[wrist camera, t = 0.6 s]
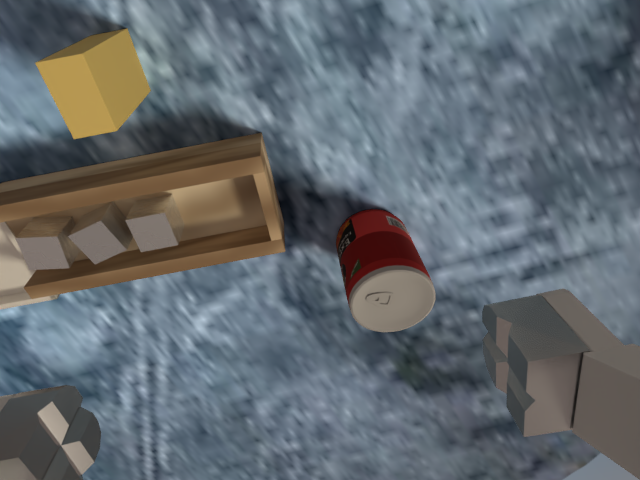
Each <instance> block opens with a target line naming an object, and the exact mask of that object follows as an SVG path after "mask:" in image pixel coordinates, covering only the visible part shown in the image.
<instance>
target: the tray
mask: <svg viewBox="0 0 640 480" xmlns="http://www.w3.org/2000/svg"><path fill="white" fill-rule="evenodd" d="M15 238H16V236H15V235H14V233H13V232H12V230H11V229H10V227H9V226H8V224H7V223H6V222H1V223H0V309H5V308H11V307H16V306H21V305H27V304H32V303H37V302H43V301H48V300H53V299H57V298H58V296H59V295H60V294H57V295H52V296H46V297H41V298H36V299H31V297H30V296H29V295H28V293H27V292H26V290H25V289H24V286H25V285H26V283H27V282H28V281H29V279H30V278H31V277H32V275H33V274H34V272H35V271H36V270H29V268H28V266H27V263H26V261H25V259H24V257H23V254H22V252H21V250H20V248H19V246H18V243H17V241H16V239H15Z"/></svg>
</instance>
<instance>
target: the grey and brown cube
mask: <svg viewBox="0 0 640 480" xmlns="http://www.w3.org/2000/svg"><path fill="white" fill-rule="evenodd" d="M74 227H75V222H74V219H73V217H72V216H61V217H33V218H32V219H31V221H30V222H29V223H28V224H27V225H26V226H25V227H24V229H23V230H22V231H21V232H20V233H19V234H18V235H17V237H16V238H15V239H16V241H17V243H18V246H19V248H20V250H21V252H22V254H23V257H24V259H25V261H26V263H27V266H28V268H29V270H43V269H65V268H70V267H71V265H72V264H73V262H74V260H75V259H76V257H77V256H78V254H79V252H80V251H81V250H80V249H79V248H78V247H77V246H76V245H75V244H74V243H73V242H72V241H71V239H70V238H69V237H68V235H69V234H70V232H71V231H72V229H73V228H74Z"/></svg>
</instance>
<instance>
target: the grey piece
mask: <svg viewBox="0 0 640 480" xmlns="http://www.w3.org/2000/svg"><path fill="white" fill-rule="evenodd" d="M126 218H127V217H126V216H125V215H124V214H123V213H122V211H121V210H120V209H119V208H118V207H117V206H116V204H115V203H114V202H113V201H112V202H110V203H108V204H106V205H104V206H102V207H100V208H98V209H95V210H93V211H91V212H89V213H87V214H85V215H83V216H82V217H81V218H80V219H79V221H78V222H77V224H76V225H75V227H74V228H73V229H72V231H71V232H70V234H69V235H68V237H69V238H70V239H71V241H72V242H73V243H74V244H75V245H76V246H77V247H78V248H79V249H80V250H81V251H82V252H83V253H84V254H85V255H86V256H87V257H88V258H89V259H90V260H91V261H92V262H93V263H94V264H97V263H100V262H102V261H104V260H106V259H108V258H110V257H113V256H115V255H117V254H119V253H121V252H123V251H126V250H127V249H128V246H129V244H130V242H131V240H132V238H133V235H132V233H131V231H130V229H129V227H128V225H127V223H126V221H125V220H126Z"/></svg>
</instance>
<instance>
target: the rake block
mask: <svg viewBox="0 0 640 480" xmlns="http://www.w3.org/2000/svg"><path fill="white" fill-rule="evenodd" d="M36 65H37V67H38V69H39V71H40V73H41V75H42V77H43V79H44V81H45V83H46V85H47V87H48V89H49V91H50V93H51V95H52V97H53V99H54V101H55V103H56V105H57V107H58V109H59V111H60V113H61V115H62V117H63V119H64V121H65V123H66V125H67V127H68V128H69V130H70V132H71V134H72V136H73V138H74V139H78V138H83V137H88V136H94V135H99V134H104V133H109V132H114V131H117V130H118V129H119V128H120V127H121V126H122V124H123V123H124V122H125V121H126V120H127V118H128V117H129V116H130V115H131V114H132V113H133V111H134V110H135V109H136V108H137V107H138V105H139V104H140V103H141V102H142V101H143V99H144V98H145V97H146V96H147V95H148V93H149V92H150V91H151V90H150V88H149V85H148V82H147V80H146V77H145V75H144V72H143V69H142V67H141V64H140V61H139V59H138V56H137V53H136V51H135V48H134V45H133V43H132V40H131V37H130V35H129V32H128V30H127V29H122V30H117V31H112V32H106V33H101V34H96V35H91V36H89V37H87V38H85V39H83V40H81V41H79V42H77V43H75V44H73V45H71V46H68V47H66V48H64V49H62V50H60V51H58V52H56V53H54V54H52V55H50V56H48V57H46V58H44V59H42V60H40V61H38V62H36Z"/></svg>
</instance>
